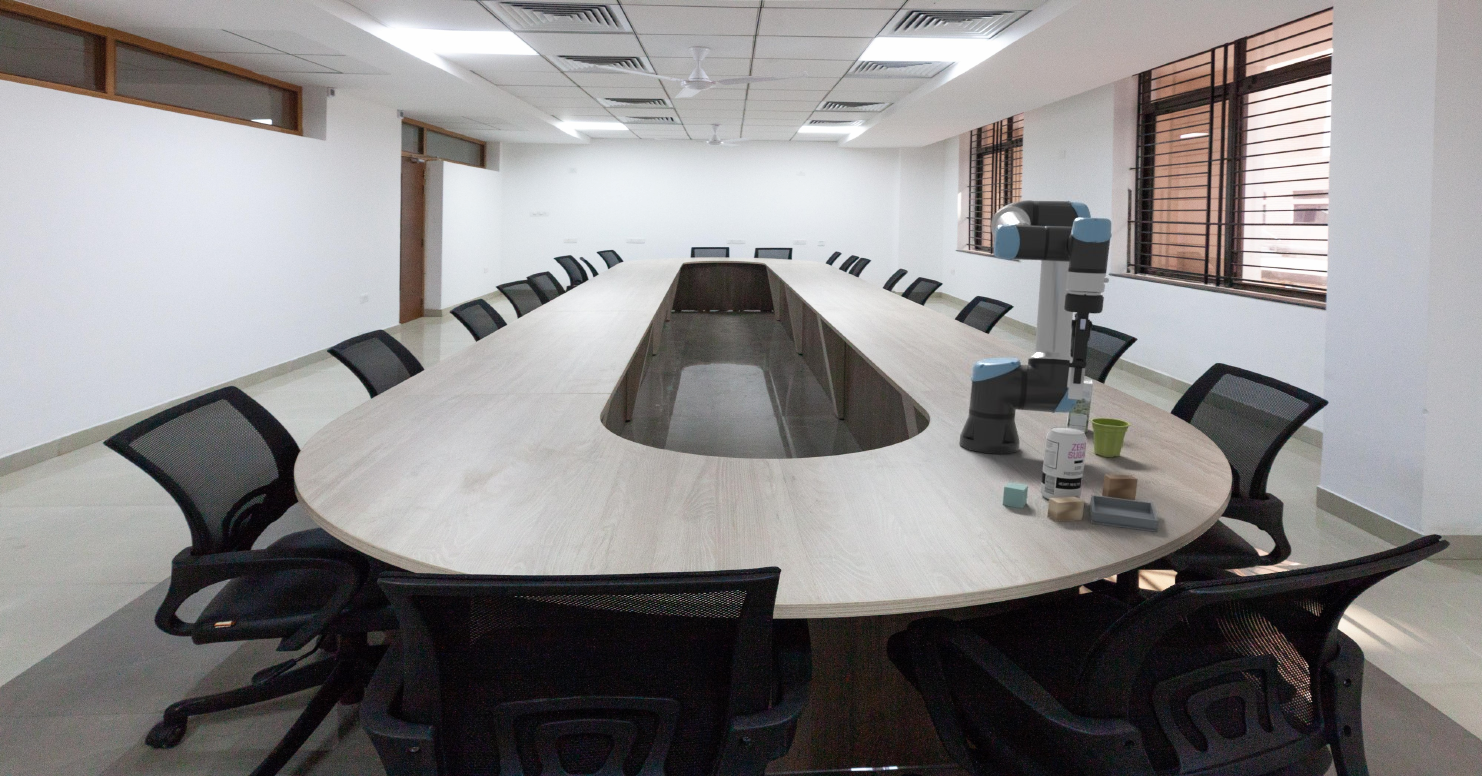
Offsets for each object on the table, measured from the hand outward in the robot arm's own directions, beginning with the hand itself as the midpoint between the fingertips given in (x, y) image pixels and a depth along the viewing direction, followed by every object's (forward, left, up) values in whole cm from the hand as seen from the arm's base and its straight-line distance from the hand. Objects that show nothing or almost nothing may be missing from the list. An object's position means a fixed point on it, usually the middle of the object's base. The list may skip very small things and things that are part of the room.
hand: (1074, 393), depth 192 cm
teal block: (-10, -10, -23) cm, 27 cm away
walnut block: (+11, +4, -23) cm, 26 cm away
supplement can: (-1, -1, -23) cm, 23 cm away
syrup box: (+3, +69, -23) cm, 73 cm away
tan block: (0, -15, -23) cm, 27 cm away
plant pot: (+10, +43, -23) cm, 50 cm away
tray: (+11, -10, -23) cm, 27 cm away
